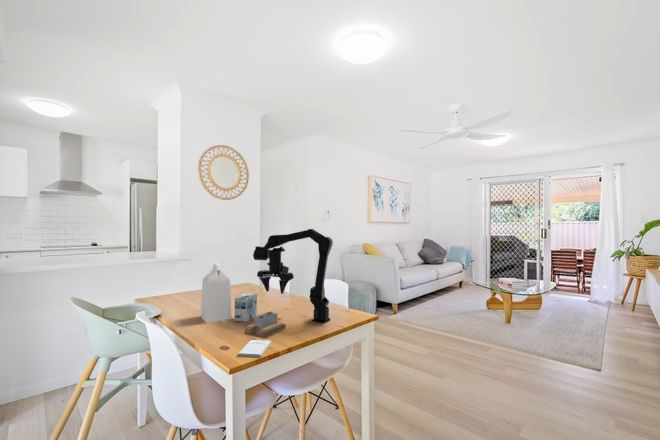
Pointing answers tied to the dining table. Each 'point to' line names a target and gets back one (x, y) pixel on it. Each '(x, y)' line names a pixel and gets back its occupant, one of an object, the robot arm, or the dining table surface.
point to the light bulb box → (245, 307)
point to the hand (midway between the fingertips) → (274, 292)
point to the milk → (216, 296)
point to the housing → (265, 320)
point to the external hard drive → (255, 348)
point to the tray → (265, 330)
